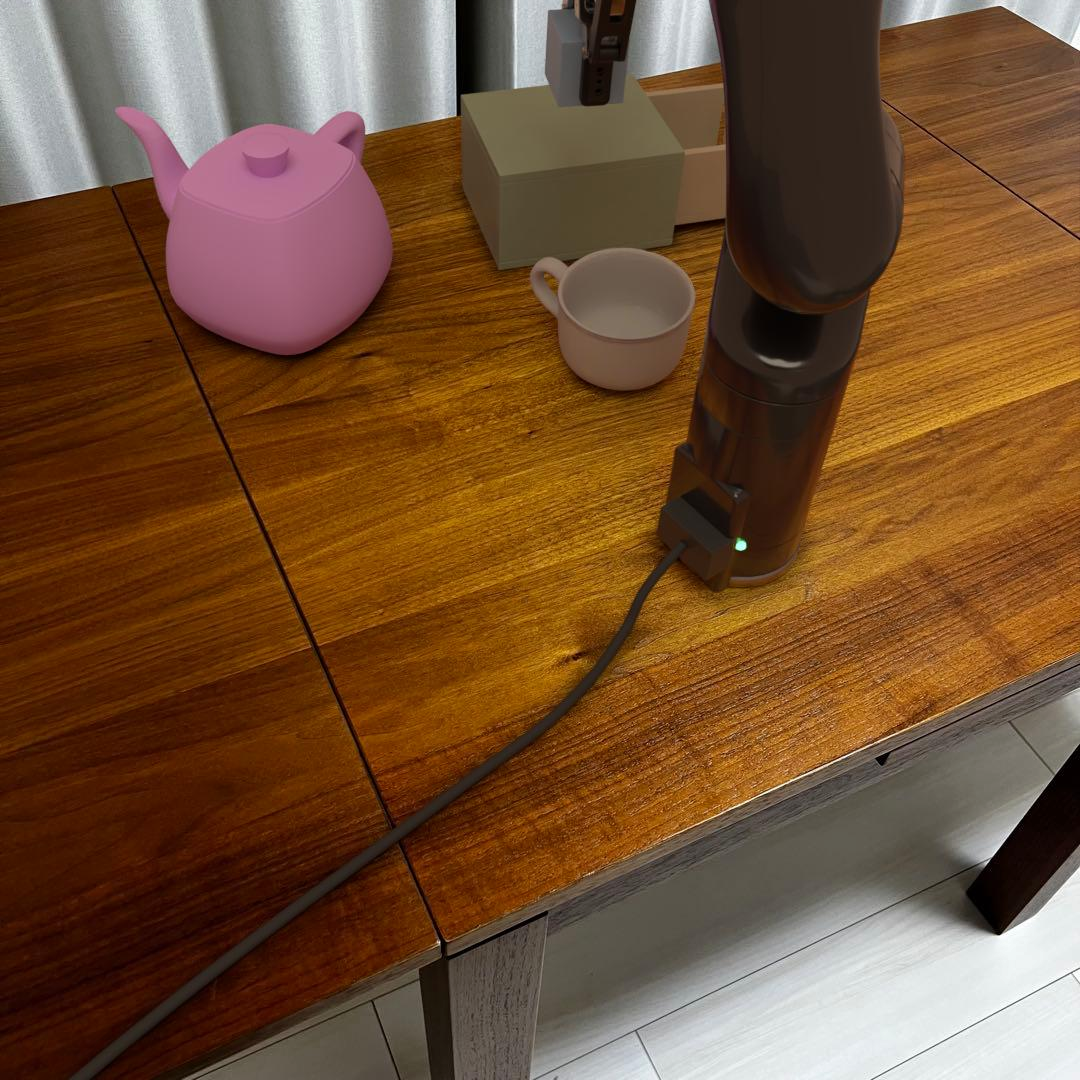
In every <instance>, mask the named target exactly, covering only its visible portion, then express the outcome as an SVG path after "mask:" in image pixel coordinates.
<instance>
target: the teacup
mask: <svg viewBox="0 0 1080 1080" xmlns="http://www.w3.org/2000/svg"><path fill="white" fill-rule="evenodd" d="M545 273H547V274H549V275H551V276H553V277H554V278H555V280H556V281H557V283H558V284H557V285H558V286H557V293H555V292H554V291H553V290H552V289H551V287H550V286H549V284H548V282H547V280H546V278H545ZM529 285H530V286H531V287H530V288H531V289H532V292H533V294H534V296H535V297H536V299H537V300H538V302H539V303H541V304H542V306H544V308H545V309H547V311H548V312H550V313H551V314H552V315H553V316H554V318H556V320H557V337H558V344H559V349H560V352H561V356H562V357H563V359H564V361H565V363H566V364H567V365H568V367H569V368H570V369H571V370H572V372H574V373H575V374H576V375H577V376H578V377H580V378H581V379H582V380H584V381H585V382H588V383H589V384H591V385H594V386H596V387H598V388H601V389H602V388H603V389H607V390H612V391H635V390H636V391H637V390H641V389H645V388H647V387H650V386H653V385H656V384H658V383H659V382H661V381H662V380H664V379H666V378H667V377H668V376H670V374H671V373H672V372H673V371H674V369H676V368H677V366H678V364H679V363H680V361H681V359H682V357H683V355H684V351H685V349H686V344H687V341H688V336H689V331H690V326H691V320H692V314H693V311H694V309H695V306H696V290H695V287H694V284H693V282H692V280H691V278H690V277H689V275H688V274H687V272H686V271H684V269H682V267H681V266H680V265H678V264H677V263H676V262H674V261H673V260H671V259H669V258H667V257H666V256H663V255H662V254H659V253H656V252H653V251H648V250H646V249H634V248H611V249H605V250H601V251H596V252H593V253H591V254H588V255H586V256H584V257H583V258H580V259H577V260H576V261H574V262H573V263H572V264H571V265H569V266H568V265H566V263H564V261H560V260H558V259H556V258H552V257H547V258H543V259H541V260H539V261H538V262H537V263H536V264H535V265H533V267H532V268H531V271H530V274H529Z"/></svg>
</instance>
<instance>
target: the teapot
mask: <svg viewBox="0 0 1080 1080" xmlns="http://www.w3.org/2000/svg"><path fill="white" fill-rule="evenodd" d="M115 114H116V115H117V117H118V118H119V119H120V120H121V121H122V122H123V123H124V124H125V125H126V126H127V127H129V129H130V130H132V132H133V133H134V134H135V135H136V137H137V139H138V140H139V141H140V142H141V145H142V147H143V149H144V151H145V153H146V156H147V160H148V162H149V165H150V170H151V173H152V177H153V183H154V187H155V190H156V194H157V197H158V200H159V203H160V206H161V208H162V210H163V212H164V213H165V215H166V218H167V219H168V220H169V223H168V227H167V234H166V240H165V241H166V243H165V244H166V245H165V267H166V277H167V283H168V287H169V293H170V295H171V297H172V298H173V300H174V302H175V304H176V305H177V307H178V308H179V309H181V310H182V311H183V312H184V314H186V315H187V316H188V317H189V318H190V319H191V320H192V321H194V322H195V323H196V324H198V325H199V326H201V327H202V328H205V330H208V331H210V332H212V333H214V334H216V335H219V336H221V337H222V338H225V339H228V340H230V341H232V342H235V343H237V344H240V345H243V346H246V347H249V348H252V349H255V350H258V351H262V352H266V353H270V354H275V355H279V356H281V355H283V356H289V355H290V356H293V355H298V354H303V353H307V352H309V351H312V350H314V349H316V348H318V347H320V346H322V345H323V344H325V343H327V342H329V341H331V340H332V339H333V338H335V337H336V336H338V335H340V334H341V333H343V332H344V331H345V330H347V329H348V328H349V327H350V326H351V325H352V324H354V323H355V322H356V321H357V320H358V319H359V318H360V317H361V316H362V315H363V313H365V312H366V310H367V309H368V307H369V306H370V304H371V303H372V302H373V300H374V299H375V297H376V296H377V294H378V292H379V291H380V289H381V288H382V286H383V284H384V282H385V281H386V278H387V276H388V274H389V272H390V269H391V265H392V261H393V257H394V256H393V255H394V246H393V238H392V232H391V228H390V225H389V220H388V218H387V217H388V216H387V214H386V211H385V209H384V206H383V204H382V200H381V198H380V196H379V194H378V192H377V190H376V188H375V186H374V184H373V182H372V180H371V179H370V177H369V175H368V174H367V172H366V170H365V168H364V167H363V164H362V159H363V154H364V150H365V142H366V124H365V121H364V118H363V117H362V115H360V113H358V112H355V111H350V110H346V111H342V112H340V113H337V114H336V115H334V116H332V117H331V118H330V119H329V120H327V121H326V122H325V123H324V124H323V125H322V126H320V128H319V129H318V130H317V131H316V132H315V133H310V132H308V131H304V130H300V129H297V128H292V127H290V126H285V125H281V124H273V123H263V124H259V125H258V124H257V125H254V126H250V127H248V128H245V129H242V130H241V131H239V132H237V133H234V134H232V135H230V136H229V137H226V138H225V139H224V140H222V141H220V142H218V143H217V144H215V145H214V146H212V147H211V148H210V149H208V150H207V151H206V152H205V153H204V154H203V155H201V156H200V157H199V158H198V159H197V160H196V161H195V162H194V163H193V164H192V165H191V166H190V167H188V165H187V164H186V163H185V161H184V160H183V158H182V156H181V155H180V153H179V152H178V150H177V148H176V147H175V145H174V143H173V142H172V140H171V139H170V137H169V136H168V134H167V133H166V131H165V130H164V129H163V128H162V126H160V124H159V123H158V122H157V121H156V120H155V119H153V117H151V116H150V115H148V114H146V113H145V112H142V111H140V110H139V109H135V108H132V107H129V106H118V107H116V108H115Z"/></svg>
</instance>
